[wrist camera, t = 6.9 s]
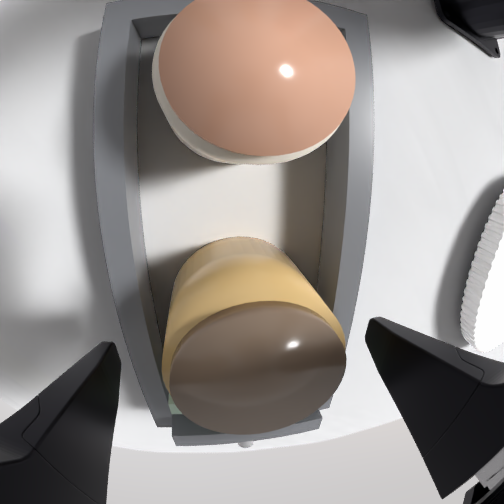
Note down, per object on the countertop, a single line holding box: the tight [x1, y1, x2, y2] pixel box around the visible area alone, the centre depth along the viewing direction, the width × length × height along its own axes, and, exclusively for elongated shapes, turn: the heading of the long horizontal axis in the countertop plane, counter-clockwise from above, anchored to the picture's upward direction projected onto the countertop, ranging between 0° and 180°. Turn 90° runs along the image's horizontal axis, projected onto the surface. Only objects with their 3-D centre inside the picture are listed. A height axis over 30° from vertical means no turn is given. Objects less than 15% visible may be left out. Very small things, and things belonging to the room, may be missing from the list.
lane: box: [93, 0, 374, 446], centre depth 9 cm, size 9×18×3 cm, turn 0°
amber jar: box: [162, 237, 346, 435], centre depth 9 cm, size 6×6×5 cm
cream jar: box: [152, 0, 355, 165], centre depth 7 cm, size 5×5×4 cm
